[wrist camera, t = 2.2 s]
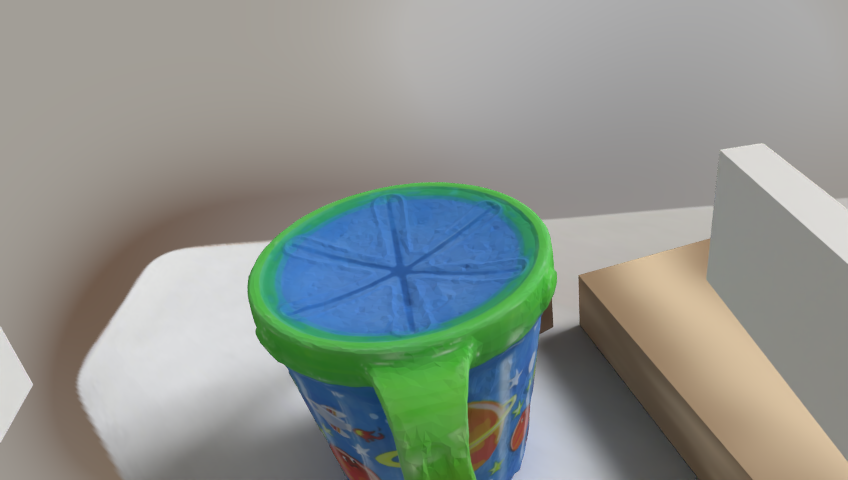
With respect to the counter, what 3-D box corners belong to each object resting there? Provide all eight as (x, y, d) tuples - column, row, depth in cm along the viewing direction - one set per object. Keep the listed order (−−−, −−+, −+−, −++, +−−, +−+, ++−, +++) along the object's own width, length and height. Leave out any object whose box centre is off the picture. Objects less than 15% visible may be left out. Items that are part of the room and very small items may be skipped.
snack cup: (328, 344, 36) (281, 169, 31) (531, 320, 36) (519, 137, 30) (284, 655, 23) (187, 442, 18) (606, 624, 22) (607, 394, 17)
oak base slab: (823, 253, 37) (832, 204, 36) (1108, 445, 25) (1141, 384, 24) (579, 324, 35) (578, 275, 33) (768, 569, 23) (780, 512, 22)
